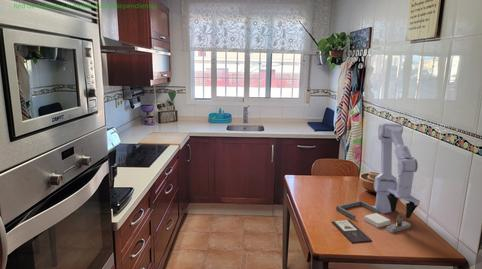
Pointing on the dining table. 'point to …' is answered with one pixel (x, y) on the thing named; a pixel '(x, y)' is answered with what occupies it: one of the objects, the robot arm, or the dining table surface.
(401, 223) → the scraper
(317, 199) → the dining table surface
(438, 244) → the dining table surface
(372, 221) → the tile
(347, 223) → the chocolate bar
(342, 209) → the bay
